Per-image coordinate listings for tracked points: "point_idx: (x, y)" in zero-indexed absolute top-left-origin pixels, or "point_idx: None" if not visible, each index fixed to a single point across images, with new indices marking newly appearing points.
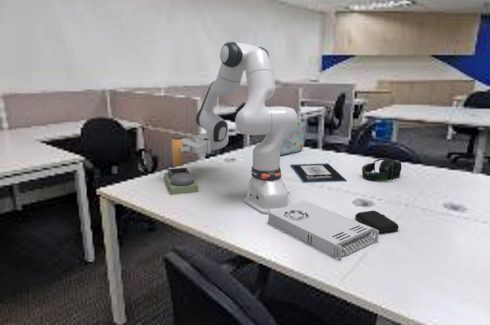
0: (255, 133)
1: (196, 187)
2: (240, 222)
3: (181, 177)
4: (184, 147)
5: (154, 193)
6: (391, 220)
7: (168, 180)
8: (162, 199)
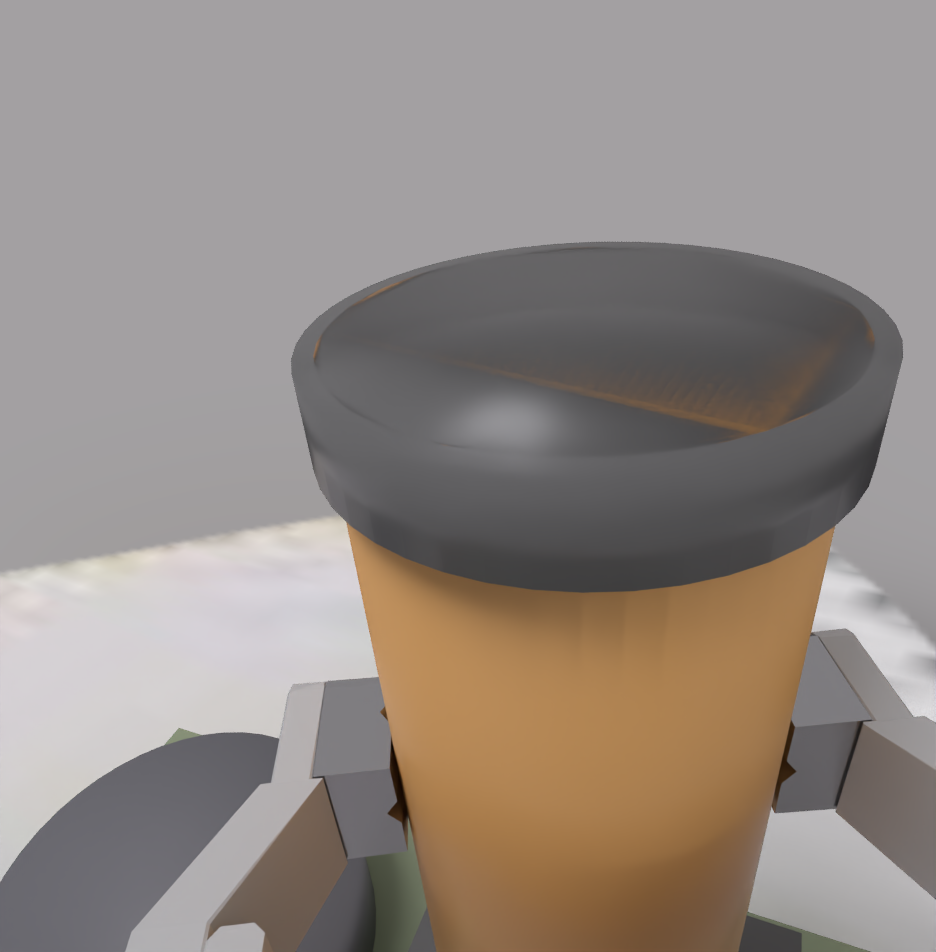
0: None
1: None
2: None
3: (147, 848)
4: (251, 798)
5: (369, 676)
6: None
7: None
8: (185, 673)
